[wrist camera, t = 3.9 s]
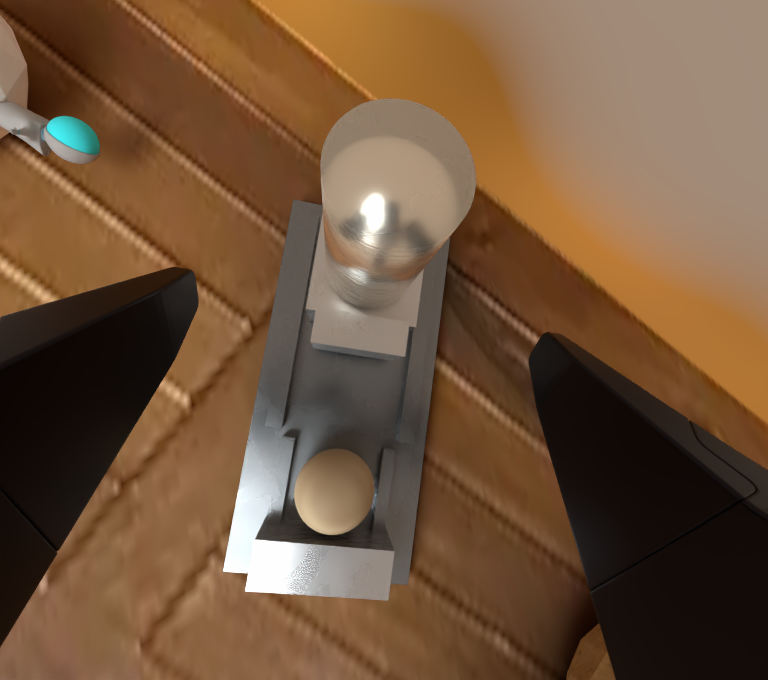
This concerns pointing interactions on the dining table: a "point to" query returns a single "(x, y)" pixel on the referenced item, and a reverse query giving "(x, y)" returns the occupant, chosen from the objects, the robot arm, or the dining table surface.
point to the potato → (591, 659)
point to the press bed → (333, 440)
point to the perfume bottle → (10, 114)
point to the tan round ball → (334, 491)
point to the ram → (383, 222)
